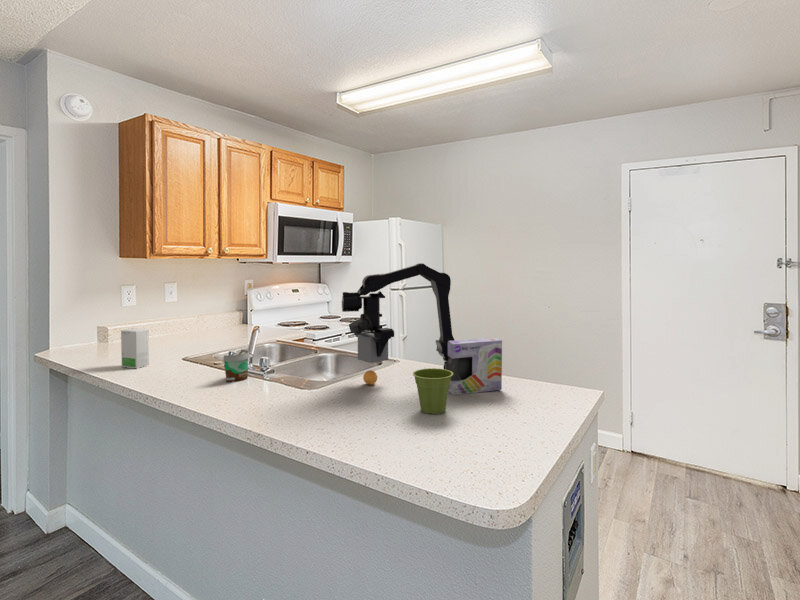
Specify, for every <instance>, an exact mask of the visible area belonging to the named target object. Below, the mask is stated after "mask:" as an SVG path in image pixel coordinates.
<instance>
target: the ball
mask: <svg viewBox="0 0 800 600" xmlns="http://www.w3.org/2000/svg"><path fill="white" fill-rule="evenodd" d="M362 377H363V378H362V379H363V382H364V383H365V384H367V385H369V386H370V385H371V386H372V385H374V384H375V383H377V381H378V374H377V372H376V371H374V370H372V369H371V370H370V369H369V370H367V371H365V372H364V373H363V376H362Z"/></svg>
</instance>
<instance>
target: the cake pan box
mask: <svg viewBox="0 0 800 600" xmlns="http://www.w3.org/2000/svg"><path fill="white" fill-rule="evenodd" d="M502 369H503V340H502V339H500V338H498V337H488V338H487V337H486V338H470V339H469V338H468V339H457V340H455V339H454V341H448V365H447V370H449V371H451V372H453V376H451V382H450V384H449V391H448V394H451V395H452V396H455V395H458V396H459V395H468V394H476V393H485V392H493V391H499V390H502V386H503V385H502V384H503V383H502V380H503V379H502V378H503V377H502V375H503V374H502V373H503V370H502Z"/></svg>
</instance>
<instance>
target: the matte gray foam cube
mask: <svg viewBox="0 0 800 600" xmlns="http://www.w3.org/2000/svg"><path fill="white" fill-rule="evenodd" d="M373 338H375V336H374V334H372V333H369V334H361V335H358V337H357V360H360V361H362V362H366V363H368V364H369V363H370V364H372V363H373V364H374V363H377V362H384V361H389V341H388V342H387V344H386V346H385V348H384V350H383V352H382V354H381V356H380V357H377V350H376V342H375V341H374V339H373Z"/></svg>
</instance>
